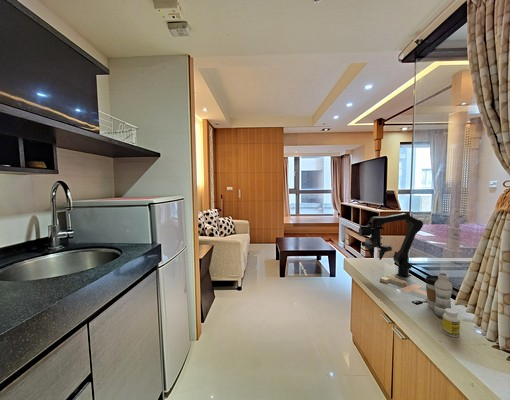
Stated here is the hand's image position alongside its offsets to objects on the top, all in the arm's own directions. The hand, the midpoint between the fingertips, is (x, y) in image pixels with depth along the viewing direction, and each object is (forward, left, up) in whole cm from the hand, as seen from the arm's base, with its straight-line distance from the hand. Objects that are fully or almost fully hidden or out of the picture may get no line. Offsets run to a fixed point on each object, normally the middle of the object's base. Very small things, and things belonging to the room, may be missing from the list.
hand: (376, 258), depth 155 cm
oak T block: (0, +13, -12) cm, 17 cm away
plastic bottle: (+16, +46, -12) cm, 50 cm away
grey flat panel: (0, +20, -12) cm, 23 cm away
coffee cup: (+10, +40, -12) cm, 43 cm away
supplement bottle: (+27, +54, -12) cm, 62 cm away
